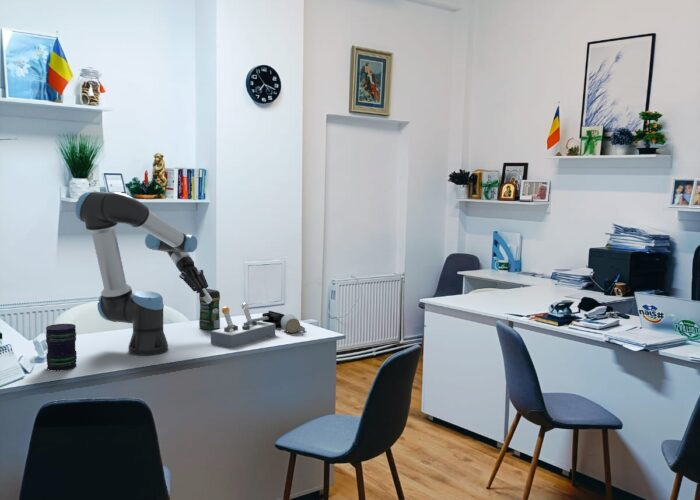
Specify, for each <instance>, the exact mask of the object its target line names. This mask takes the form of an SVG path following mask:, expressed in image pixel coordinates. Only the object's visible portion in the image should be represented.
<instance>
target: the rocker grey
mask: <svg viewBox="0 0 700 500" xmlns="http://www.w3.org/2000/svg"><path fill="white" fill-rule="evenodd" d="M251 319H252V320H254V321H263V320H267V319H269V318H268V317H267V316H265V317H262V316H261V317H257V318H251Z"/></svg>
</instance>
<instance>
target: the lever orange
mask: <svg viewBox="0 0 700 500" xmlns="http://www.w3.org/2000/svg"><path fill="white" fill-rule="evenodd" d="M221 313H222V314H223V315H224V318H225V322H226V325H227V326H226V327H227V328H230V330H232V329H235V328H236V326H235V325H236V324H233V323H234V322H233V321H232V318H231V315H230V308H229V307H228V306H224V307H222V308H221Z"/></svg>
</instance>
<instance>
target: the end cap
mask: <svg viewBox="0 0 700 500" xmlns="http://www.w3.org/2000/svg"><path fill="white" fill-rule="evenodd" d="M284 315H285V314H284V313H281V312H276V311H273V310H268V312H264V313H262V316H261V317H265V316H267V317H268V318H269V319H267V320H263V321H262V322H267V323H273V324H275V329H279V328H282V326H281V319H282V317H283V316H284Z"/></svg>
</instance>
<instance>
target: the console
mask: <svg viewBox="0 0 700 500" xmlns="http://www.w3.org/2000/svg"><path fill="white" fill-rule="evenodd" d="M254 322H255V323H254V324H252V325H249V323H246V322H243V323H238V324H234V325H235V326H236V328H235V329H232V330H230V328H227V326H225V327H223V328H218V329H216V330H210V344H213V345H217V346H223V347H226V348H234V347H239V346H242V345H245V344H249V343H253V342H256V341H260V340H263V339H266V338H270V337H273V336H276V328H275V324H273V323H267V322H262V321H254Z"/></svg>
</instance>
